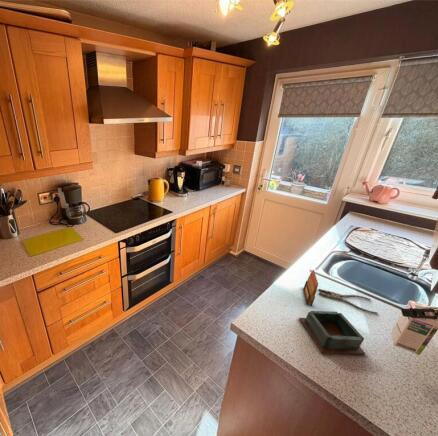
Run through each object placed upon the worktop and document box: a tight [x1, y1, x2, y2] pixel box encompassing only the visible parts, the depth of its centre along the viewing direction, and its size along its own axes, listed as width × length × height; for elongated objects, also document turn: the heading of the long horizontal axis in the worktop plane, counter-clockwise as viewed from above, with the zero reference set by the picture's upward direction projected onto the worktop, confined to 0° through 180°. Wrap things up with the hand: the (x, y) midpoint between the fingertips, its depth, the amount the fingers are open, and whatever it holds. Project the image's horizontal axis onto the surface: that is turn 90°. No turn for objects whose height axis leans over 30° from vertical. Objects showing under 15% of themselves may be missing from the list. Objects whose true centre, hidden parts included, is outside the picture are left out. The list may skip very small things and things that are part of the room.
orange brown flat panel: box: [302, 269, 319, 307], centre depth 99 cm, size 11×2×12 cm, turn 155°
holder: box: [298, 310, 366, 356], centre depth 83 cm, size 14×14×6 cm
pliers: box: [317, 288, 378, 315], centre depth 99 cm, size 10×1×20 cm
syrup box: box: [390, 300, 438, 356], centre depth 69 cm, size 6×6×14 cm
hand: (417, 313), depth 69 cm, fingers closed on syrup box, 7 cm apart
